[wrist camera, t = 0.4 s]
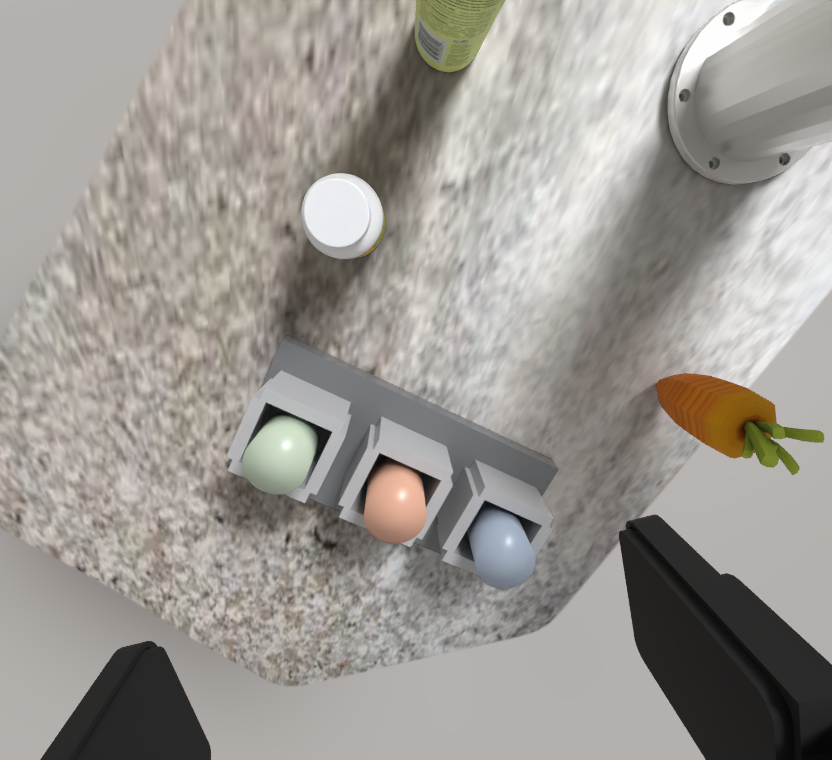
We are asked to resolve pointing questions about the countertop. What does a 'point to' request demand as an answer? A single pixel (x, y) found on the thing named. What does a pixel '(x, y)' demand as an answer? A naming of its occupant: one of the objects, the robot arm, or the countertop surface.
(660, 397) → the carrot
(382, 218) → the supplement bottle
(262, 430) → the button sage
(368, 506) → the button terracotta
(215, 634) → the countertop surface
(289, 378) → the three-cup grey tray
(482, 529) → the button slate
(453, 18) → the tube
